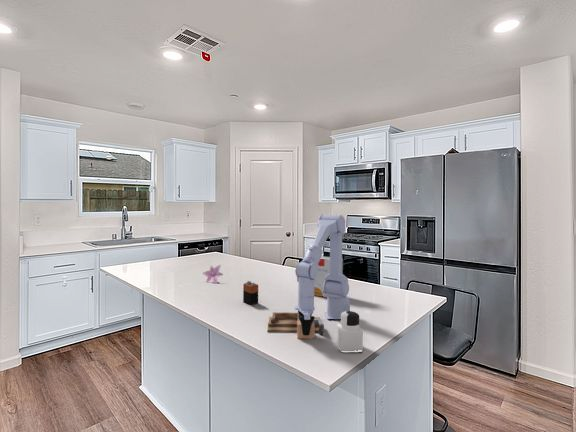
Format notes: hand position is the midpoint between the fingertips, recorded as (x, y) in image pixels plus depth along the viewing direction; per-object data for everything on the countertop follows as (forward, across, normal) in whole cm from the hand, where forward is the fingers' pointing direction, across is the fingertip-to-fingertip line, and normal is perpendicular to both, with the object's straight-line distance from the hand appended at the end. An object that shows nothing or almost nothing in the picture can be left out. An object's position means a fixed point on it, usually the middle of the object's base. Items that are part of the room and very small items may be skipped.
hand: (305, 332), depth 118 cm
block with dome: (+1, 0, 0) cm, 1 cm away
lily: (+2, -79, -51) cm, 94 cm away
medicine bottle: (+2, +10, +14) cm, 17 cm away
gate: (+1, -5, +2) cm, 6 cm away
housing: (+1, -10, -4) cm, 11 cm away
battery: (+2, -38, -24) cm, 45 cm away
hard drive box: (+2, -52, +14) cm, 54 cm away
